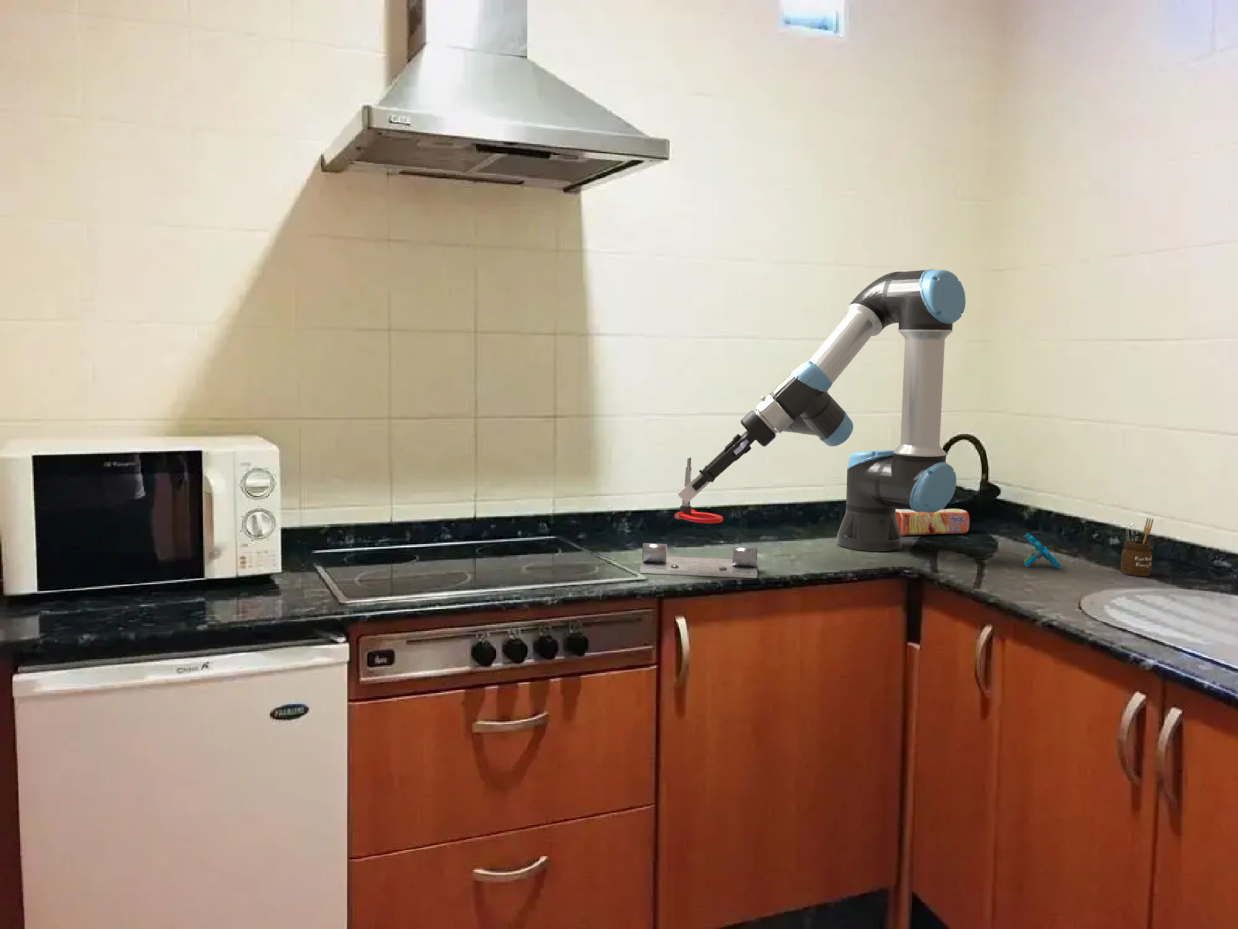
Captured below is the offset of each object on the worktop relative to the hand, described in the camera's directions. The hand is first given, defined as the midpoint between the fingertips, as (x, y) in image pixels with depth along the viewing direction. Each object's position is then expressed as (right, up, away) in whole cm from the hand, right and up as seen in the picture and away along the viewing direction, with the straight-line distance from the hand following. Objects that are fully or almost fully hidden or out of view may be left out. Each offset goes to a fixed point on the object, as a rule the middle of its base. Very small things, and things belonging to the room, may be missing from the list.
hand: (682, 498), depth 216 cm
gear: (+80, -16, +11) cm, 82 cm away
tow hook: (+4, -5, -2) cm, 6 cm away
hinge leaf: (+4, -15, +1) cm, 16 cm away
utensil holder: (+99, -17, +6) cm, 100 cm away
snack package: (+67, -11, +50) cm, 84 cm away
